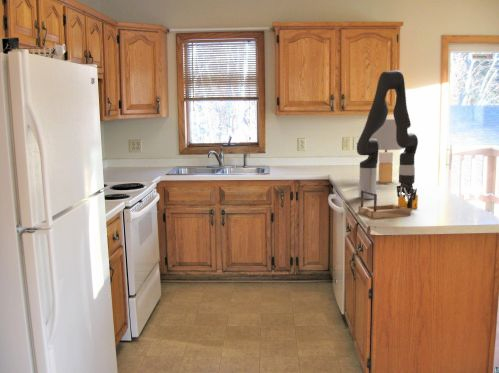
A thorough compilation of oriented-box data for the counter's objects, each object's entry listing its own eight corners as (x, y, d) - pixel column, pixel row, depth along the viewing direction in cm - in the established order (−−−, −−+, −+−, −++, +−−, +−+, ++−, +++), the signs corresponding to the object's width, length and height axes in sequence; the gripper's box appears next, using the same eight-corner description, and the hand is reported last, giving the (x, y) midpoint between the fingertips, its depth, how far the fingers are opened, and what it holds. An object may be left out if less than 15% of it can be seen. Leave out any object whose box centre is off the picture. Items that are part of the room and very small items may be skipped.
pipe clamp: (410, 206, 267) (410, 193, 266) (417, 207, 264) (417, 195, 263) (395, 209, 260) (395, 196, 260) (402, 210, 257) (402, 197, 256)
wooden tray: (358, 212, 254) (358, 189, 253) (392, 209, 260) (393, 187, 258) (374, 218, 240) (375, 194, 239) (410, 215, 246) (411, 192, 244)
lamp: (376, 185, 339) (378, 120, 332) (362, 180, 361) (363, 119, 354) (409, 183, 343) (411, 119, 337) (392, 179, 365) (394, 119, 359)
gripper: (391, 172, 265) (391, 205, 268) (408, 175, 252) (408, 210, 254) (404, 171, 268) (404, 204, 270) (422, 174, 254) (421, 209, 256)
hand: (406, 207), depth 262 cm, fingers closed on pipe clamp, 5 cm apart
